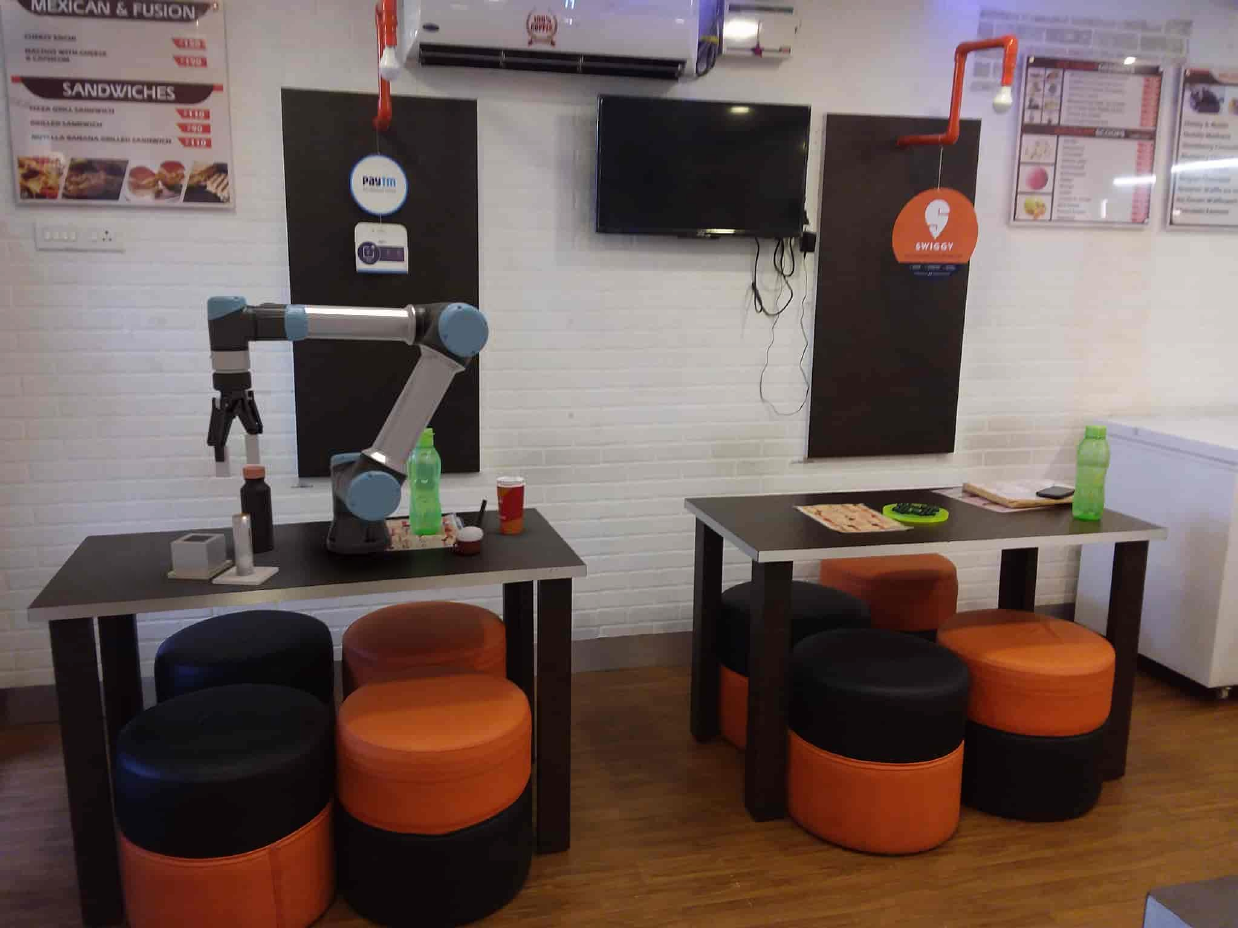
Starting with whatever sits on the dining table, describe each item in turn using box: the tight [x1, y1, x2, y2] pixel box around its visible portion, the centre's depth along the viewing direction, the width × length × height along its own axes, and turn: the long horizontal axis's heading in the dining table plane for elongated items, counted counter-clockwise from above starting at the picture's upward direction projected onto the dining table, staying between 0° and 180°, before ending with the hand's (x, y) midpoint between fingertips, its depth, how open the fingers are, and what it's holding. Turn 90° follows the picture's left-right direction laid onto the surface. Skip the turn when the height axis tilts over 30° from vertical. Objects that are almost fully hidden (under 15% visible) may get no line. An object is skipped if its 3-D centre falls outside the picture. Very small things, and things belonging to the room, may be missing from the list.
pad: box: [212, 565, 279, 586], centre depth 206 cm, size 10×10×1 cm
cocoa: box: [452, 499, 488, 556], centre depth 224 cm, size 10×6×12 cm, turn 111°
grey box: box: [166, 532, 233, 581], centre depth 211 cm, size 9×16×8 cm, turn 175°
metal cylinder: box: [231, 513, 255, 576], centre depth 204 cm, size 4×4×13 cm
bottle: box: [239, 465, 275, 553], centre depth 225 cm, size 7×7×20 cm
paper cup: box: [495, 476, 527, 536], centre depth 242 cm, size 8×8×14 cm
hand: (239, 470), depth 201 cm, fingers open, 13 cm apart
